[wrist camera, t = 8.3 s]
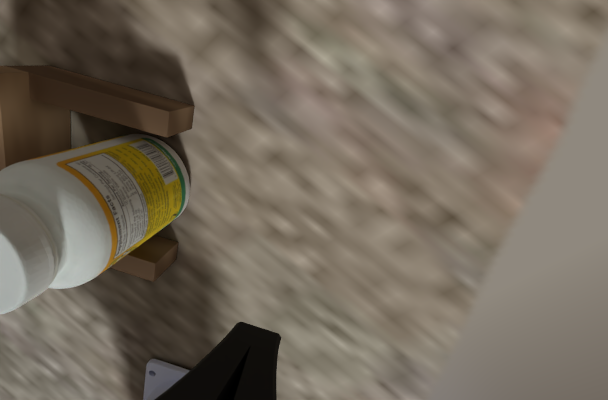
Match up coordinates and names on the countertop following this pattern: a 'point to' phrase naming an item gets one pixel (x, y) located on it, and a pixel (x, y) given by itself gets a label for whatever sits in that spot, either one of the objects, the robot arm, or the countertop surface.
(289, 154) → the countertop surface
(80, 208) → the supplement bottle
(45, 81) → the wooden holder
